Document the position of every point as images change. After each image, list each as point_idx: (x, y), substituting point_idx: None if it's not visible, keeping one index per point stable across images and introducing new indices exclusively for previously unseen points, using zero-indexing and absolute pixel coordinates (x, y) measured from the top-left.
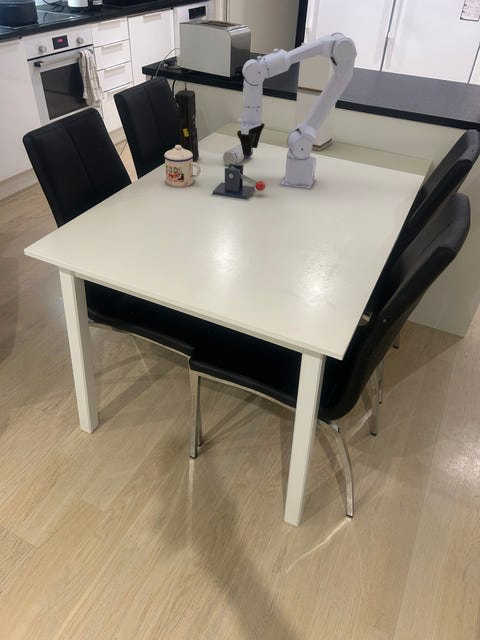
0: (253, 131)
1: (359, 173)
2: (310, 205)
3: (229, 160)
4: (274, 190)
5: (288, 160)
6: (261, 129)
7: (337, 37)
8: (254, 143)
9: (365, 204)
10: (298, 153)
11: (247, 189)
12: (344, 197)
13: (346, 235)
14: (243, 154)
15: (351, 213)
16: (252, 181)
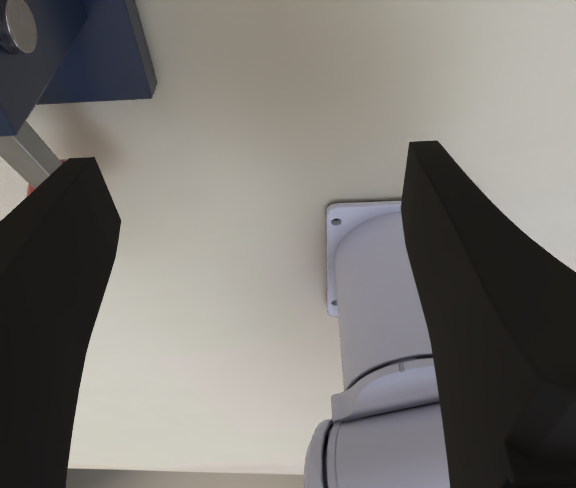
0: (465, 364)
1: None
2: (155, 335)
3: None
4: (233, 189)
5: (366, 349)
6: (450, 476)
7: None
8: (414, 230)
9: (269, 428)
10: (322, 457)
11: (73, 70)
12: (299, 392)
13: None
14: (59, 168)
15: (176, 414)
16: (18, 170)
